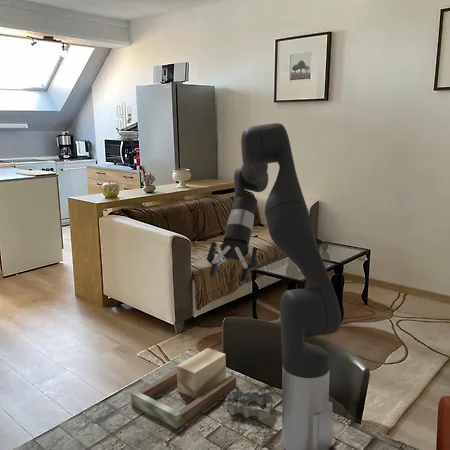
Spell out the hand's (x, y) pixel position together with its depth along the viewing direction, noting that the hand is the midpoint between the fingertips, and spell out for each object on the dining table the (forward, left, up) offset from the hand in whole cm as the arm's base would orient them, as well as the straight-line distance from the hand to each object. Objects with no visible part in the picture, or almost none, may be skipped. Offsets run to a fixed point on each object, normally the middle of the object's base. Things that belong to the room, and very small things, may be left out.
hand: (227, 280), depth 129 cm
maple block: (-5, +17, -23) cm, 29 cm away
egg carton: (-21, +18, -23) cm, 36 cm away
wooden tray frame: (-5, +22, -23) cm, 32 cm away
